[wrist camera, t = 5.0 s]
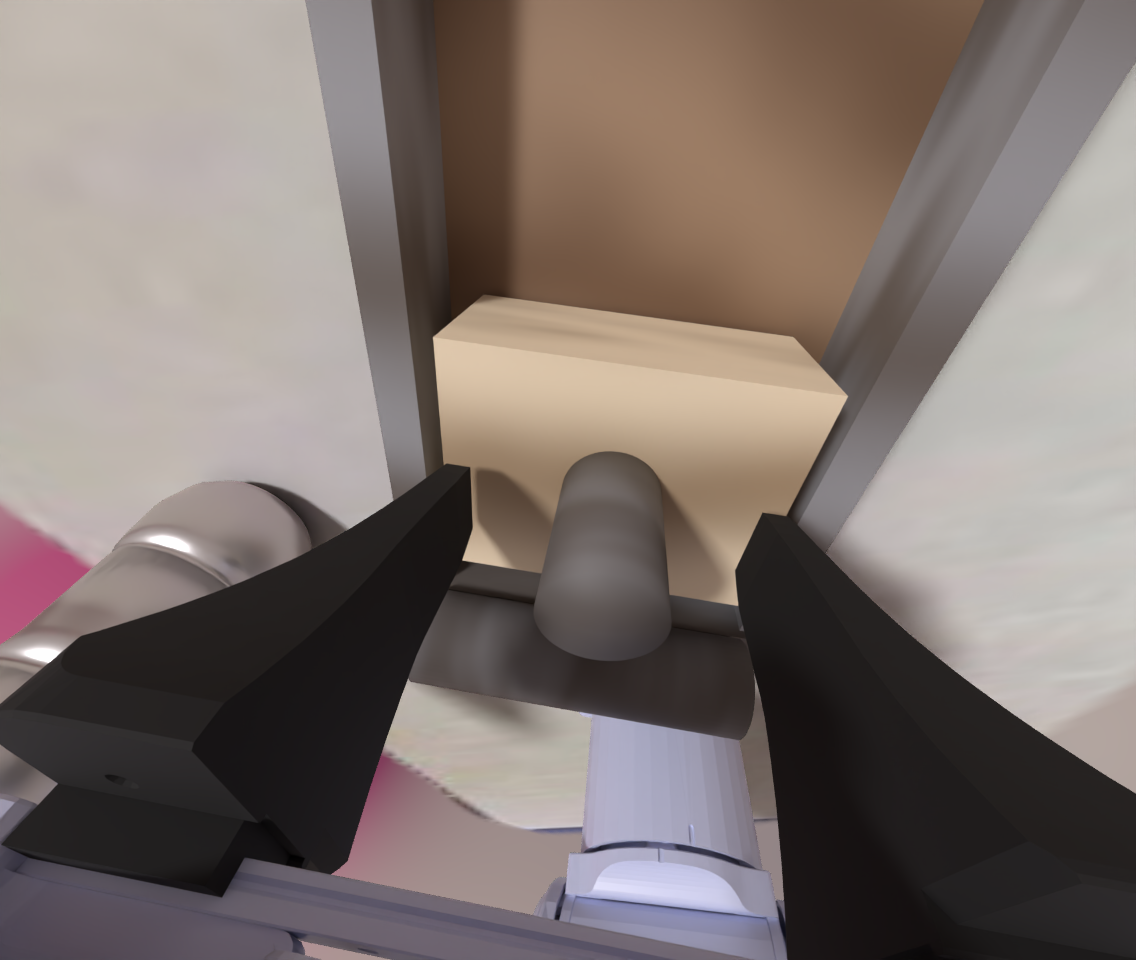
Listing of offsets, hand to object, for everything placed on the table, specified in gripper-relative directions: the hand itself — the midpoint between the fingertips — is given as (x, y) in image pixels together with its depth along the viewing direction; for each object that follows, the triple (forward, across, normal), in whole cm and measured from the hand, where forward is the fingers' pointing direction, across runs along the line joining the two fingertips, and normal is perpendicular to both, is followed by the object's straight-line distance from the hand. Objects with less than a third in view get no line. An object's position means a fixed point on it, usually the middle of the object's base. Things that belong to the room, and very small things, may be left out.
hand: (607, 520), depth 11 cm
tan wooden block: (+5, 0, 0) cm, 5 cm away
